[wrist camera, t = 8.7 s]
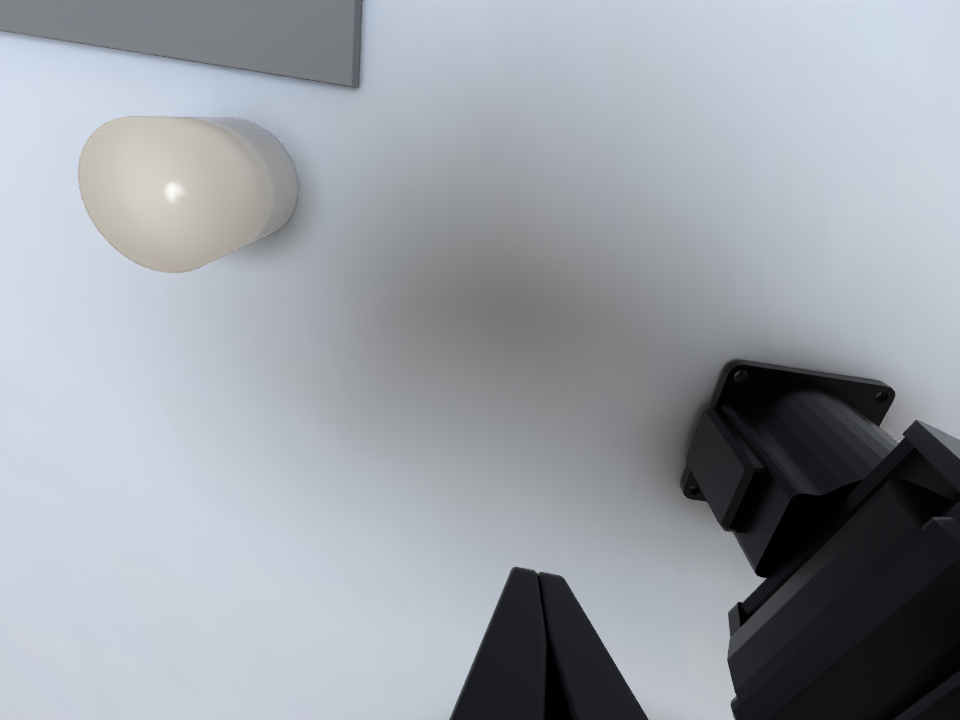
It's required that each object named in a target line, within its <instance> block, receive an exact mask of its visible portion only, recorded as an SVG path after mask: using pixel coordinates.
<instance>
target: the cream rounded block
mask: <svg viewBox="0 0 960 720" xmlns="http://www.w3.org/2000/svg"><path fill="white" fill-rule="evenodd" d="M78 180H79V188H80V193H81V197H82V200H83V203H84V206H85V208H86V210H87V212H88V214H89V217H90V218H91V220H92V222H93V223H94V225H95V227H96V228H97V229H98V231H99V232H100V233H101V235H102V236H103V237H104V238H105V239H106V240H107V241H108V242H109V244H110V245H112V246H113V247H114V248H115V249H116V250H117V251H118V252H120V253H121V254H122V255H124V256H125V257H127V258H128V259H130V260H132V261H133V262H135V263H137V264H139V265H141V266H143V267H146V268H149V269H152V270H155V271H160V272H167V273H182V272H188V271H192V270H194V269H197V268H200V267H202V266H204V265H206V264H208V263H210V262H212V261H215V260H217V259H219V258H221V257H223V256H225V255H227V254H229V253H232V252H234V251H236V250H238V249H240V248H242V247H244V246H246V245H248V244H251V243H253V242H255V241H257V240H259V239H261V238H263V237H265V236H268V235H270V234H272V233H274V232H276V231H278V230H279V229H280V228H282V227H283V226H284V225H285V224H286V223H287V222H288V220H289V219H290V217H291V216H292V214H293V212H294V210H295V207H296V204H297V199H298V179H297V174H296V171H295V167H294V165H293V162H292V160H291V158H290V156H289V154H288V153H287V151H286V149H285V148H284V147H283V145H282V144H281V143H280V142H279V141H278V140H277V139H276V137H274V136H273V135H272V134H271V133H270V132H269V131H267V130H266V129H264V128H263V127H261V126H259V125H257V124H255V123H253V122H250V121H247V120H243V119H239V118H208V117H151V116H130V117H122V118H117V119H114V120H111V121H109V122H107V123H105V124H103V125H102V126H100V127H99V128H98V129H97V130H96V131H95V132H93V133H92V135H91V136H90V137H89V139H88V140H87V142H86V143H85V145H84V147H83V150H82V153H81V156H80V160H79V167H78Z"/></svg>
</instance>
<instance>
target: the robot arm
mask: <svg viewBox="0 0 960 720" xmlns="http://www.w3.org/2000/svg"><path fill="white" fill-rule="evenodd" d="M741 370H743V374H742V375H741V376H739V377H736V378H734V375H735V373H736V372H738V371H741ZM880 392H881V394H880V395H879V397H877V398H874V397H875V396H876V395H877V394H878V393H880ZM894 398H895V391H894V390H893V389H892V388H891V387H889V386H888V385H887V384H885V383H883V382H879V381H873V380H866V379H860V378H853V377H847V376H840V375H834V374H827V373H821V372H814V371H808V370H801V369H795V368H788V367H782V366H775V365H769V364H762V363H756V362H749V361H743V360H736V361H733V362H731V363H729V364H728V365H727V366H726V367H725V369H724V371H723V374H722V376H721V379H720V382H719V384H718V387H717V389H716V392H715V395H714V397H713V400H712V402H711V405H710V407H708V408H707V409H706V410H705V411H704V412H703V415H702V418H701V420H700V423H699V426H698V428H697V431H696V434H695V436H694V439H693V441H692V444H691V447H690V449H689V452H688V455H687V457H686V462H687V464H688V465H687V468H686V470H685V473H684V475H683V478H682V481H681V485H680V487H681V489H682V491H683V493H684V495H685V496H686V497H687V498H689V499H693V500H700V501H706V502H708V504H709V505H710V507H711V509H712V511H713V513H714V515H715V517H716V519H717V521H718V523H719V524H720V526H721V527H722V528H723V530H724V531H729V532H733V534H734V535H735V537H736V539H737V541H738V543H739V544H740V546H741V548H742V550H743V552H744V554H745V555H746V557H747V559H748V561H749V563H750V565H751V566H752V568H753V570H754V572H755V573H756V575H757V576H759V577H763V578H767V579H766V580H765V581H764V582H763V583H762V584H761V585H760V586H759V587H758V588H757V589H756V590H755V591H754V592H753V593H752V594H751V595H750V596H749V597H748V598H747V599H746V600H745V601H744V602H743V603H742V602H738V603H737V604H736V605H735V606H734V607H733V608H732V609H731V610H730V611H729V613H728V617H729V627H730V637H731V638H730V642H729V650H728V658H727V661H728V665H729V669H730V673H731V678H732V682H733V686H734V690H735V693H736V697H735V698H734V699H733V700H732V701H731V708H732V712H733V716H734V719H735V720H960V440H959V439H956V438H954V437H952V436H950V435H948V434H946V433H944V432H942V431H940V430H938V429H936V428H934V427H932V426H929V425H927V424H925V423H923V422H921V421H919V420H915V421H914V422H913V424H912V425H911V426H910V427H909V428H908V429H907V430H906V431H905V432H904V433H903V435H904V436H905V438H904V439H903V440H902V441H901V442H900V443H898V442H897V441H895V440H894V439H893V438H892V437H891V436H889V435H888V434H887V433H886V432H884V431H883V430H882V429H881V428H880V427H879V426H880V424H881V422H882V420H883V418H884V417H885V415H886V413H887V411H888V409H889V408H890V406H891V404H892V402H893V400H894ZM694 485H698V486H697V487H696V488H694V489H690V487H692V486H694ZM449 720H648V718H647V716H646V715H645V713H644V711H643V710H642V708H641V706H640V705H639V703H638V701H637V700H636V698H635V696H634V695H633V693H632V691H631V690H630V688H629V686H628V685H627V683H626V681H625V680H624V678H623V676H622V675H621V673H620V671H619V670H618V668H617V666H616V664H615V663H614V661H613V659H612V658H611V656H610V654H609V653H608V651H607V649H606V648H605V646H604V644H603V643H602V641H601V639H600V638H599V636H598V634H597V633H596V631H595V629H594V628H593V626H592V624H591V623H590V621H589V619H588V618H587V616H586V614H585V612H584V611H583V609H582V607H581V606H580V604H579V602H578V601H577V599H576V597H575V596H574V594H573V592H572V591H571V589H570V587H569V586H568V584H567V582H566V581H565V579H564V578H563V577H561V576H559V575H554V574H550V573H545V572H539V573H538V574H537V573H536V572H535V571H534V570H530V569H525V568H520V567H513V568H512V570H511V572H510V574H509V577H508V579H507V581H506V584H505V586H504V589H503V591H502V594H501V596H500V598H499V601H498V603H497V606H496V608H495V610H494V613H493V615H492V618H491V620H490V623H489V625H488V627H487V630H486V632H485V635H484V637H483V639H482V642H481V644H480V647H479V649H478V652H477V654H476V656H475V659H474V661H473V664H472V666H471V669H470V671H469V673H468V676H467V678H466V681H465V683H464V685H463V688H462V690H461V693H460V695H459V698H458V700H457V702H456V705H455V707H454V710H453V712H452V715H451V717H450V719H449Z"/></svg>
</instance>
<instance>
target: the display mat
mask: <svg viewBox="0 0 960 720" xmlns="http://www.w3.org/2000/svg"><path fill="white" fill-rule="evenodd" d="M361 12H362V0H0V30H2V31H8V32H14V33H20V34H27V35H33V36H39V37H45V38H52V39H58V40H64V41H70V42H77V43H83V44H89V45H95V46H102V47H108V48H114V49H120V50H127V51H133V52H139V53H145V54H151V55H158V56H164V57H170V58H176V59H183V60H189V61H195V62H201V63H208V64H214V65H220V66H226V67H233V68H239V69H245V70H251V71H258V72H264V73H270V74H276V75H283V76H289V77H295V78H301V79H308V80H314V81H320V82H326V83H333V84H339V85H345V86H351V87H359V62H360V37H361Z"/></svg>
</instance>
